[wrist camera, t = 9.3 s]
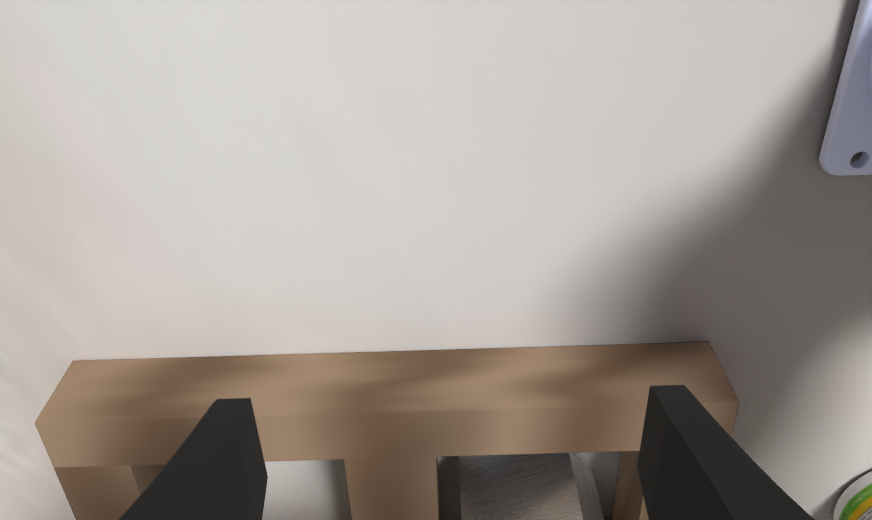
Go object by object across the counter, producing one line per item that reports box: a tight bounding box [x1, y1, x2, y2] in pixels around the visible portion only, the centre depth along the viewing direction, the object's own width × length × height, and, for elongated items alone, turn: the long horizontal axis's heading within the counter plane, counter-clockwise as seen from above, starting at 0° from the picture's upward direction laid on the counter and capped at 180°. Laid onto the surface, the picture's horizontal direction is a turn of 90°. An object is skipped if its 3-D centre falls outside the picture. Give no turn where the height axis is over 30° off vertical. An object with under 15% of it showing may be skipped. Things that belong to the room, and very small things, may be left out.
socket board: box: [35, 342, 739, 520], centre depth 28 cm, size 22×11×3 cm, turn 92°
